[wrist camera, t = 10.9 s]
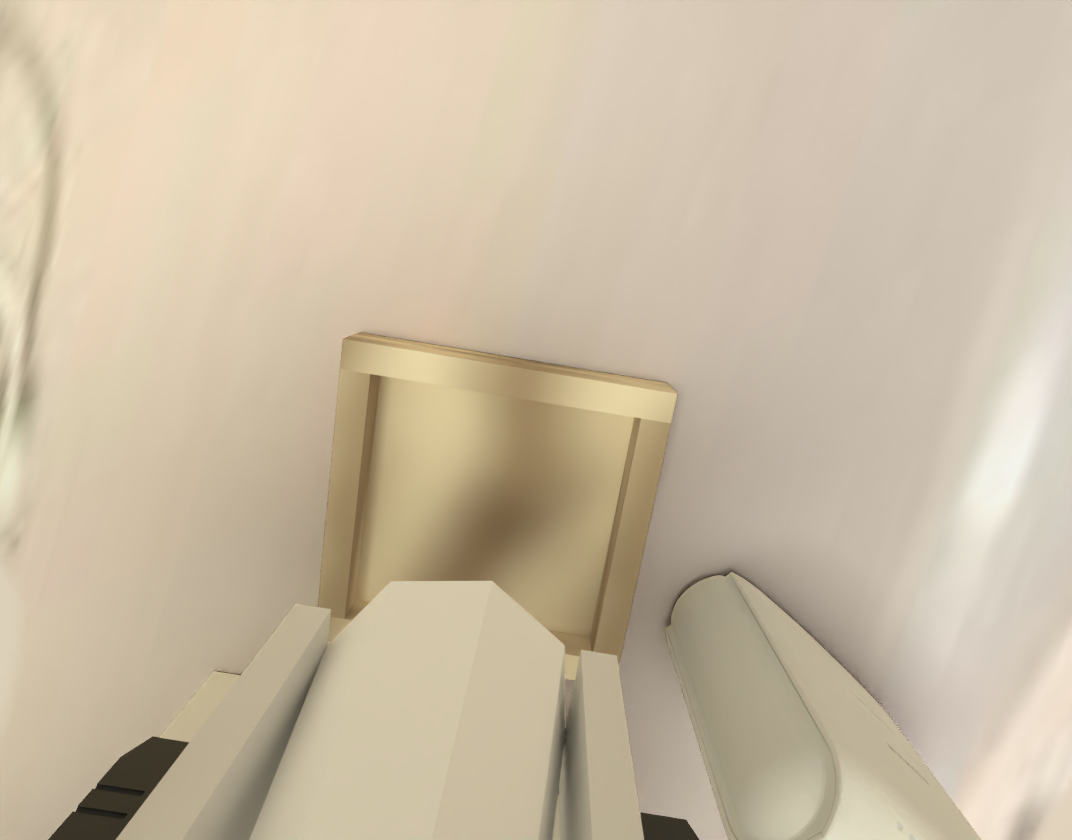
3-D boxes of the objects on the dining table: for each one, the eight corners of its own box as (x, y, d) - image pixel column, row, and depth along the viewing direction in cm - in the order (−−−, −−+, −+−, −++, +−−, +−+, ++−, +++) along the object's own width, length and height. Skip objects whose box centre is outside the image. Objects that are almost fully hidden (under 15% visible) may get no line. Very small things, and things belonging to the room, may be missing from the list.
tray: (332, 611, 26) (314, 639, 24) (360, 332, 24) (342, 339, 22) (609, 655, 26) (614, 686, 24) (667, 383, 24) (677, 393, 22)
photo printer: (902, 717, 27) (1188, 1092, 15) (818, 781, 27) (1024, 1186, 15) (727, 547, 25) (886, 808, 13) (644, 620, 26) (722, 929, 14)
